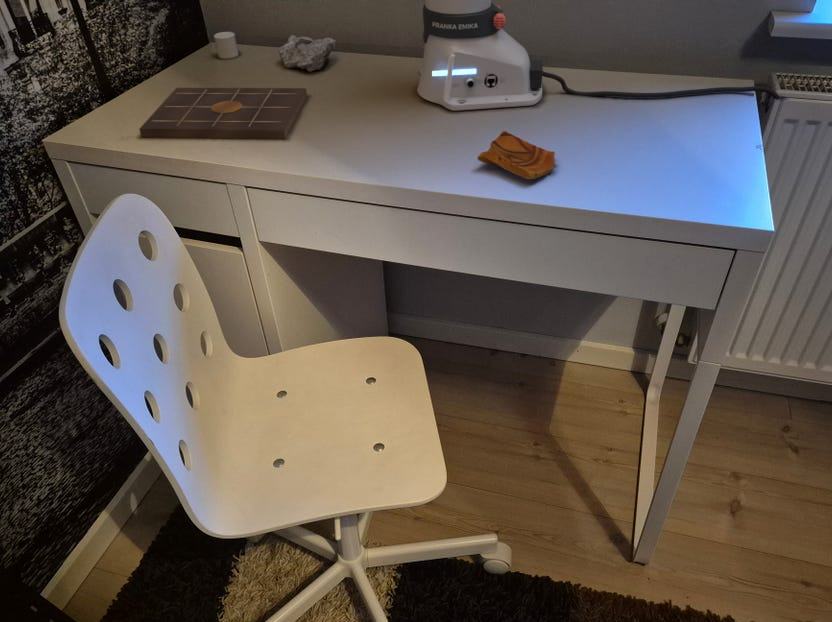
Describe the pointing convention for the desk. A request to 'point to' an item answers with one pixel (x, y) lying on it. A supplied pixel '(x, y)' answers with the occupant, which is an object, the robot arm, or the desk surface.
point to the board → (226, 113)
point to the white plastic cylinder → (226, 45)
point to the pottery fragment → (518, 156)
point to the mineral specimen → (306, 52)
